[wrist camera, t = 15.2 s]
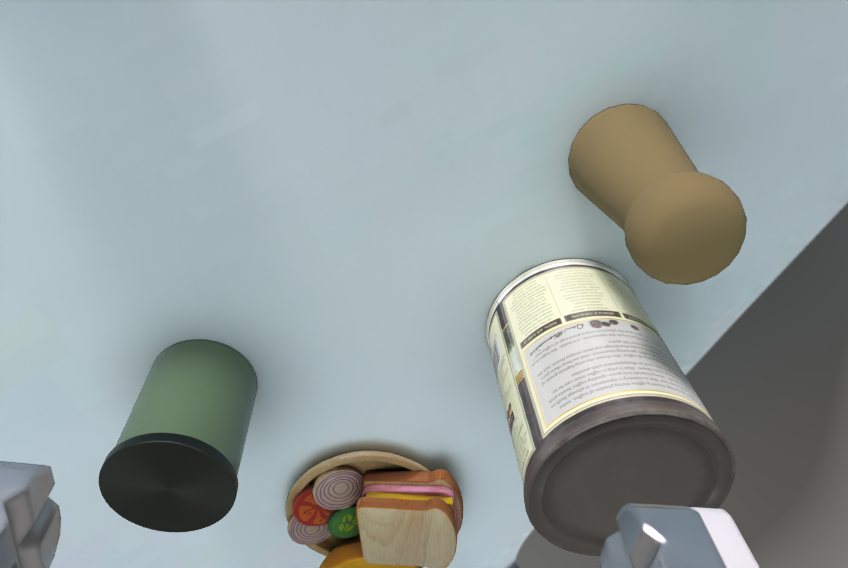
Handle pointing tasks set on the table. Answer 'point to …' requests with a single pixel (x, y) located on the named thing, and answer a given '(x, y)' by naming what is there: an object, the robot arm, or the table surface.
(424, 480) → the toy sandwich meal
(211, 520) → the olive tin
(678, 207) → the cork
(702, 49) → the table surface
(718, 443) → the coffee can
